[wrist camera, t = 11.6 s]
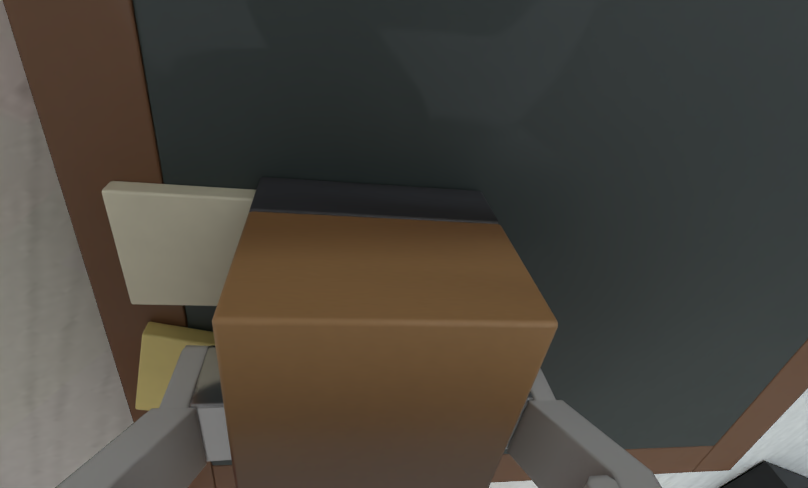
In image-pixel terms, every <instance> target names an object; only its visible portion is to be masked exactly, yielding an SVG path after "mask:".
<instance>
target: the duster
mask: <svg viewBox="0 0 808 488" xmlns="http://www.w3.org/2000/svg"><path fill="white" fill-rule="evenodd" d="M212 326H213V333H214V340H215V347H216V354H217V361H218V368H219V375H220V382H221V390H222V397H223V404H224V411H225V418H226V425H227V432H228V439H229V446H230V453H231V460H232V467H233V474H234V481H235V488H489V485H490V483H491V481H492V478H493V476H494V474H495V471H496V469H497V467H498V464H499V462H500V460H501V457H502V455H503V453H504V451H505V448H506V446H507V444H508V441H509V439H510V437H511V434H512V432H513V430H514V427H515V425H516V423H517V420H518V418H519V416H520V413H521V411H522V409H523V407H524V404H525V402H526V400H527V397H528V395H529V393H530V390H531V388H532V386H533V383H534V381H535V379H536V376H537V374H538V372H539V370H540V367H541V365H542V363H543V360H544V358H545V356H546V353H547V351H548V349H549V346H550V344H551V342H552V339H553V337H554V335H555V332H556V330H557V328H558V322H557V320H556V318H555V316H554V314H553V313H552V311H551V309H550V308H549V306H548V304H547V303H546V301H545V299H544V298H543V296H542V294H541V292H540V291H539V289H538V287H537V286H536V284H535V282H534V281H533V279H532V277H531V276H530V274H529V272H528V270H527V269H526V267H525V265H524V264H523V262H522V260H521V259H520V257H519V255H518V254H517V252H516V250H515V248H514V247H513V245H512V243H511V242H510V240H509V238H508V237H507V235H506V233H505V232H504V230H503V228H502V226H501V225H499V221H498V219H497V218H496V216H495V214H494V212H493V211H492V209H491V207H490V206H489V204H488V202H487V201H486V199H485V197H484V196H483V194H482V192H480V191H473V190H458V189H442V188H427V187H411V186H396V185H380V184H365V183H349V182H334V181H318V180H303V179H287V178H272V177H262V178H260V181H259V184H258V186H257V189H256V192H255V195H254V198H253V201H252V204H251V207H250V210H249V214H248V216H247V219H246V222H245V225H244V228H243V231H242V234H241V237H240V240H239V243H238V246H237V248H236V251H235V254H234V257H233V260H232V263H231V266H230V269H229V272H228V275H227V278H226V281H225V284H224V286H223V289H222V292H221V295H220V298H219V301H218V304H217V307H216V310H215V313H214V316H213V319H212Z"/></svg>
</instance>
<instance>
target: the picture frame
mask: <svg viewBox="0 0 808 488" xmlns="http://www.w3.org/2000/svg"><path fill="white" fill-rule="evenodd" d="M723 488H808V478H805V477H803V476H800V475H798V474H795V473H793V472H790V471H788V470H785V469H783V468H780V467H778V466H775V465H773V464H770V463H768V462H763V463H762V464H760V465H759V466H757V467H755V468H754V469H752V470H750V471H749V472H747V473H745V474H744V475H742V476H741V477H739V478H737V479H736V480H734V481H732V482H731V483H729V484H727V485H726V486H724V487H723Z"/></svg>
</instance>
